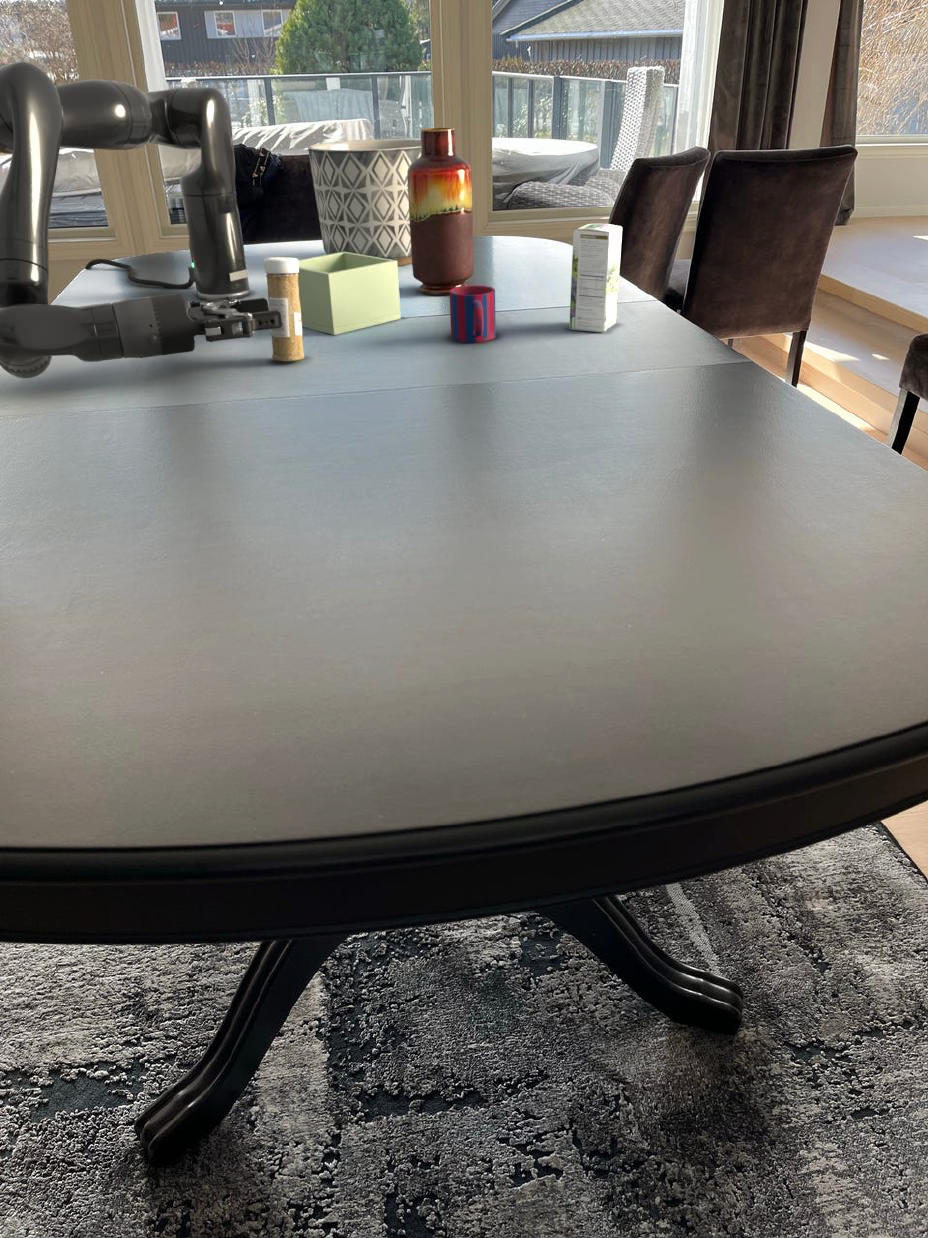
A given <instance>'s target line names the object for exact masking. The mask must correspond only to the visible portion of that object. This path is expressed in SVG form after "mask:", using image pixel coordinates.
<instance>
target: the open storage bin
mask: <svg viewBox="0 0 928 1238" xmlns="http://www.w3.org/2000/svg"><path fill="white" fill-rule="evenodd" d="M298 265H299V272H298V273H297V274H298V287H299V300H300V310H301V323H302V328H307V329H310V330H313V331H317V332H320V333H325V334H329V335H332V336H336V335H341V334H345V333H348V332H349V333H350V332H353V331H357V330H361V329H364V328H370V327H374V326H377V325H380V324H386V323H389V322H393V321H397V320H401V319H402V317H401V316H402V315H401V300H400V285H399V283H400V282H399V268H398V266H397V261H396V260H390V259H384V258H379V257H373V256H367V255H361V254H355V253H350V252H339V253H334V254H329V255H328V254H324V255H317V256H313V257H308V258H307V257H306V258H302V259H298Z"/></svg>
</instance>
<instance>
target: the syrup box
mask: <svg viewBox="0 0 928 1238" xmlns="http://www.w3.org/2000/svg"><path fill="white" fill-rule="evenodd" d="M572 237H573V238H572V256H571V281H570V282H571V283H570V303H569V306H570V307H569V323H568V325H569V327H568V329H569V330H572V331H584V332H595V333H605V332H607V331H608V330H610V328H612V327H614V326H615V325H616V323H617V314H618V313H617V312H618V301H619V299H618V298H619V297H618V296H619V295H618V294H619V284H620V269H621V255H622V254H621V253H622V240H623V226H622V225H617V224H616V225H615V224H610V223H600V222H599V223H597V222H596V223H587V224H585V225H582V226H580V227H578V228H576V229H574V230H573V235H572Z"/></svg>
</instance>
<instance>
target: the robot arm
mask: <svg viewBox="0 0 928 1238" xmlns="http://www.w3.org/2000/svg"><path fill="white" fill-rule="evenodd" d="M232 125H233V124H232V117H231V113H230V108H229V105H228V103H227V99H226V98H225V96H224V95H223V93H222V92H221V91H220V90H218V89H217V88H215V87H210V86H203V87H202V86H196V87H195V86H193V87H174V88H169V89H163V90H157V91H156V90H155V91H142V90H141V89H140V88H139V87H137V86H136V85H134V84H131V83H128V82H125V81H120V80H109V79H102V78H101V79H99V78H98V79H84V80H78V81H73V82H67V83H63V84H59V85H55V83H54V82H53V80H52V79H51V78H50V77H49V75H48V74H47V73H46V72H45V71H44V70H43V69H42V68H41V67H39V66H37V65H36V64H34V63H31V62H28V61H16V62H13V63H9V64H5V65H3V66H1V67H0V153H1V154H4V155H11V160H10V164H9V167H8V172H7V174H6V177H5V180H4V183H3V186H2V187H1V189H0V367H1V368H2V369H3V370H4V371H5V372H6V373H7V374H9V375H12V376H13V377H16V378H20V379H33V378H37V377H38V376H40V375H42V374H43V373H44V372H45V371H46V370H47V369H48V368H49V366H50V364H51V362H52V359H53V357H57V356H59V357H60V356H61V357H62V356H73V357H76V358H77V359H78V360H80V361H82V362H85V363H97V362H105V361H112V360H121V359H142V358H143V359H144V358H152V357H160V356H169V355H175V354H184V353H191V352H193V351H194V350H195V347H196V341H195V337H196V336H205V340H206V342H209V343H214V342H218V341H219V342H220V341H229V340H236V339H237V340H238V339H250V338H252V337H253V334H255V333H256V332H258V331H267V330H270V329H276V328H281V327H282V318H281V313H280V312H279V311H278V310H273V311H269V305H268V299H267V298H265V297H258V298H250V299H239V298H244V297H246V296H249V295H250V294H251V286H250V283H249V275H248V268H247V261H246V255H245V254H246V253H245V248H244V241H243V233H242V232H243V231H242V225H241V219H240V218H241V217H240V212H239V204H238V197H237V191H236V189H237V188H236V171H237V170H236V169H237V168H236V159H235V157H236V156H235V149H234V138H233V137H234V136H233V126H232ZM147 144H153V145H159V146H165V147H169V148H174V149H180V150H200V162H199V164H198V165H197V166H196V167H195V168H194V169H192V170H191V171H189V172H186V173H185V174H184V173H183V174H182V176H180V178H179V186H180V187H179V188H180V192H181V197H182V204H183V209H184V215H185V223H186V227H187V228H186V229H187V232H188V239H189V240H188V248H189V254H190V259H191V266H188V267H187V270H188V275H189V278H188V281H187V282H185V283H180V284H177V283H171V282H165V281H161V280H155V279H154V280H153V279H144V278H143V279H142V278H138V277H135V272H134V269H133V266H131V265H130V264H127V263H122V262H118V261H115V260H110V259H104V258H96V259H95V258H94V259H92V260H90V261H89V262H88V263H87V264H86V265H85V268H84V270H91V269H92V268H93V267H94V266H96V265H108V266H113V267H116V268H119V269H125V270H127V272H128V274H127V279H128V280H129V281H130V282H131V283H134V284H138V285H144V286H153V287H161V288H165V289H172V290H173V289H176V290H188V289H190V288H191V287H193V286H194V283H195V289H196V294H197V297H198V298H199V299H202V300H192V301H189V304H188V301H187V298H186V296H185V295H184V294H183V293H181V292H176V293H169V294H161V295H160V294H159V295H151V296H141V297H132V298H126V299H122V300H118V301H113V302H105V303H97V304H96V303H95V304H88V305H81V306H71V305H64V304H63V305H61V304H49V287H50V261H49V258H50V257H49V253H50V251H49V228H50V217H51V216H50V215H51V206H52V199H53V193H54V187H55V181H56V176H57V169H58V168H57V167H58V162H59V155H60V149H61V148H63V149H64V148H66V149H77V150H78V149H79V150H102V151H103V150H104V151H127V150H128V151H129V150H135V149H139V148H142V147H144V146H146V145H147ZM240 324H241V326H240Z"/></svg>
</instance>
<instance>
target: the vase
mask: <svg viewBox="0 0 928 1238" xmlns="http://www.w3.org/2000/svg"><path fill="white" fill-rule="evenodd" d="M419 134H420V139H421V156H420V157H419V158H418V159H416V160H415V161H413V162H412V163H411V165H410V166H409V168H408V170H407V182H408V201H409V220H410V237H411V254H412V263H411V265H412V266H411V267H412V268H411V269H412V276H413V278H414V279H415V280H417V281H418V282H420V283H421V285H420V286H419V288H418V291H419V293H420V294H423V295H425V296H426V295H427V296H435V297H436V296H437V297H438V296H439V297H440V296H444V297H445V296H450V293H449V291H450V290H451V289H453V288H456V287H462V286H469V285H468V283H466V281H468V279H470V278H471V277H473V276H474V223H473V222H474V220H473V219H474V218H473V215H474V214H473V180H472V167H471V166H470V164H469V162H468V161H467V160H466V159H464V158H462V157H461V156H459V155H458V154H457V150H456V149H457V147H456V146H457V145H456V129H455V127H428V128H427V127H426V128H421V129H420V133H419Z"/></svg>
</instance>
